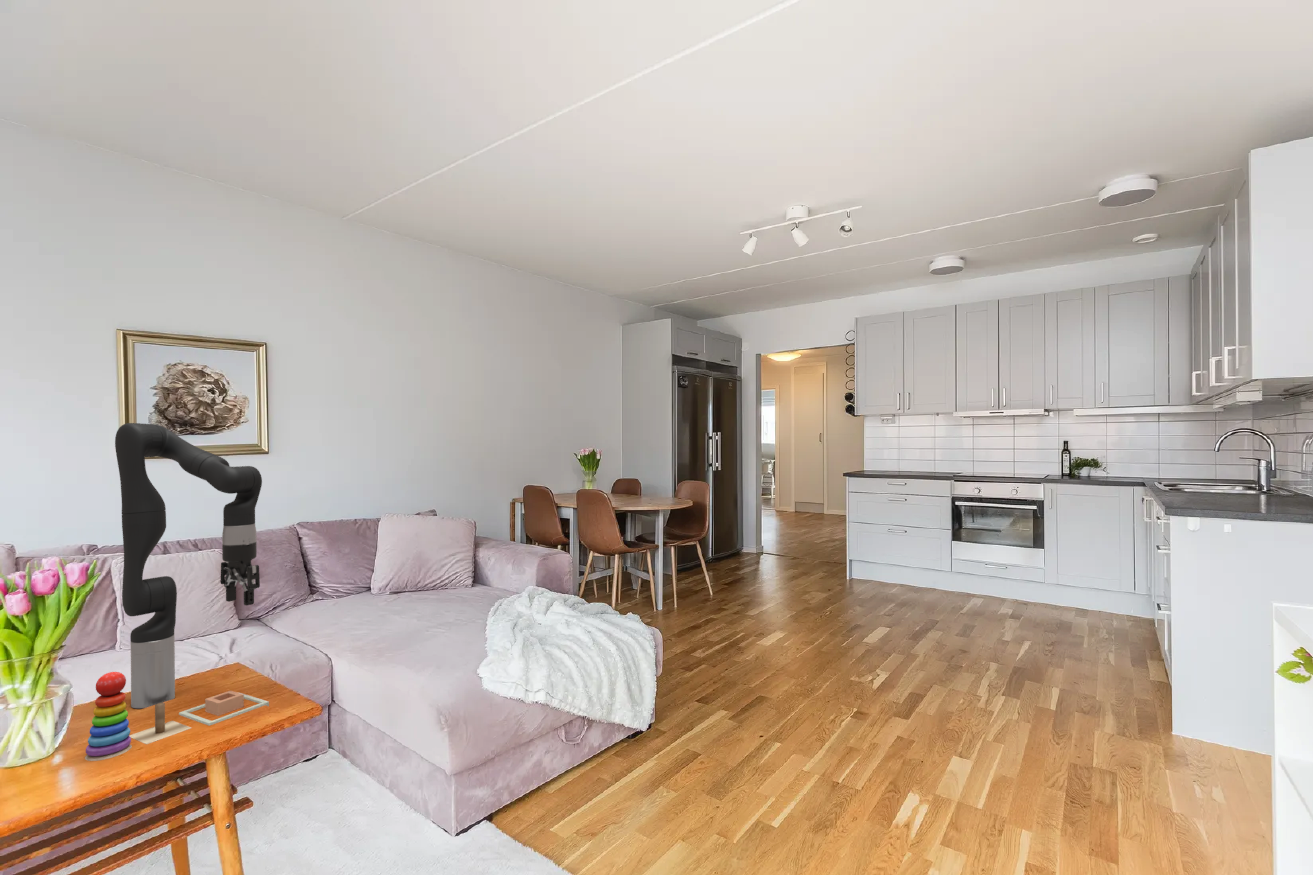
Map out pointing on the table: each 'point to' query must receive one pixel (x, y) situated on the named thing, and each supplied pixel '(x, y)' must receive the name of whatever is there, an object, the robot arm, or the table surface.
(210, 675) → the table surface
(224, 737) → the table surface
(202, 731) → the table surface
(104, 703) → the stacking toy
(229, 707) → the collar
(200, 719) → the tray
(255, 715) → the table surface
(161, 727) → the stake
